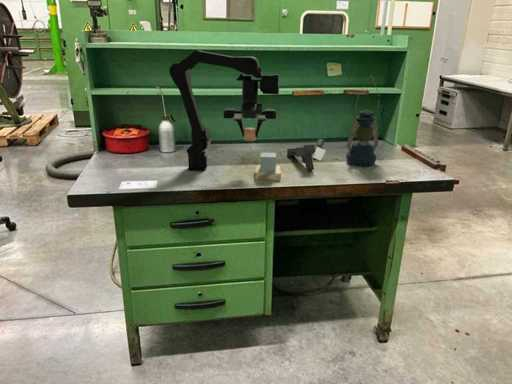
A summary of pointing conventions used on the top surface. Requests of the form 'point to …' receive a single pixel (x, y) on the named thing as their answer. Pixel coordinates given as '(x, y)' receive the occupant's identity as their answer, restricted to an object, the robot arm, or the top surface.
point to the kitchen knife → (319, 150)
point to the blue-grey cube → (268, 162)
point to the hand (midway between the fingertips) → (249, 136)
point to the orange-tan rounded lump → (249, 134)
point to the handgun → (304, 155)
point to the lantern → (363, 138)
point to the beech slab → (268, 174)
